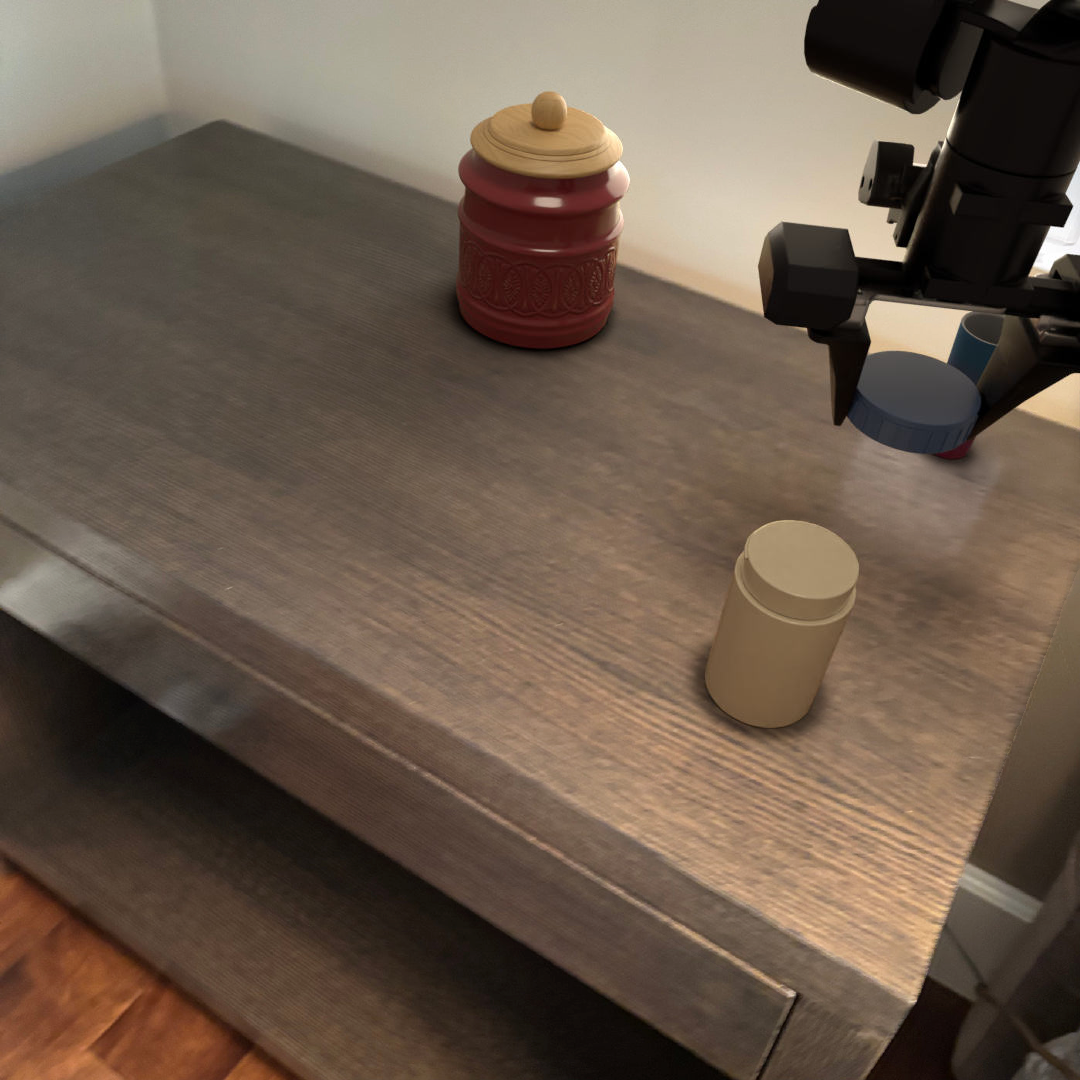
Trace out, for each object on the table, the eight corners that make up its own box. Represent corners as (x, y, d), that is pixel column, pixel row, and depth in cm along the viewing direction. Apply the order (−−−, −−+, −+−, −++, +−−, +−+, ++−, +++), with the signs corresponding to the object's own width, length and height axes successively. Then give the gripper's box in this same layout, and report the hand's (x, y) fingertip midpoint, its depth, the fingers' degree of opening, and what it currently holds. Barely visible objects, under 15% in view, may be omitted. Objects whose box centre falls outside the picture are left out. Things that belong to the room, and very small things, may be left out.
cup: (921, 418, 78) (968, 303, 71) (980, 439, 77) (1035, 323, 70) (906, 450, 75) (955, 332, 68) (969, 472, 74) (1024, 354, 67)
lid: (869, 363, 59) (879, 335, 58) (986, 411, 56) (999, 382, 55) (821, 418, 55) (830, 389, 53) (944, 472, 52) (958, 443, 51)
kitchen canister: (640, 333, 84) (676, 116, 72) (499, 367, 79) (511, 141, 67) (563, 259, 92) (583, 52, 80) (430, 286, 87) (430, 70, 75)
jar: (808, 649, 60) (857, 523, 53) (818, 735, 56) (873, 610, 49) (703, 635, 60) (739, 508, 53) (704, 720, 56) (743, 594, 49)
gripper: (1159, 104, 51) (1032, 365, 62) (787, 63, 52) (725, 330, 62) (1250, 204, 43) (1086, 484, 54) (808, 155, 43) (733, 443, 54)
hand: (900, 428), depth 56 cm, fingers closed on lid, 7 cm apart
